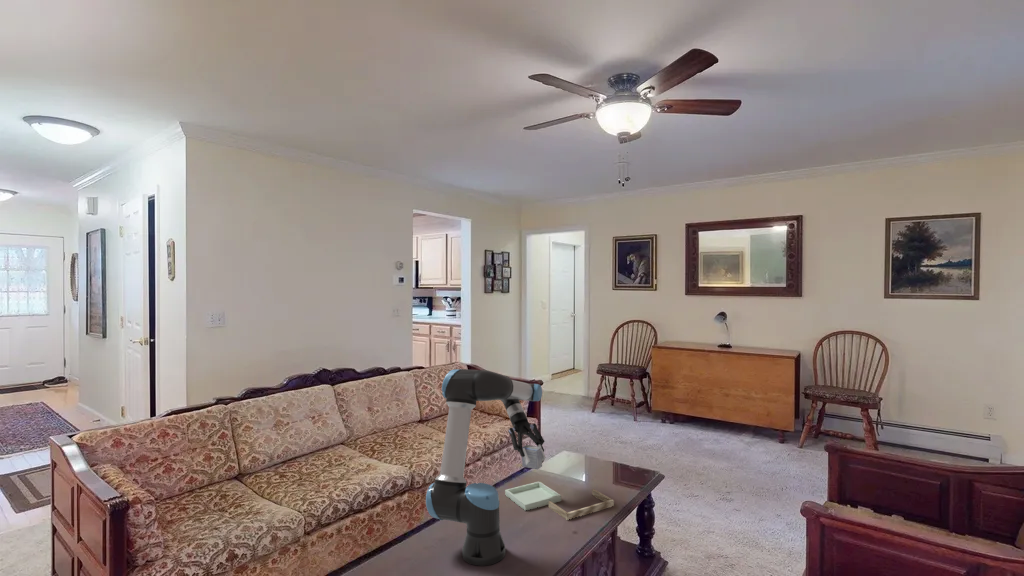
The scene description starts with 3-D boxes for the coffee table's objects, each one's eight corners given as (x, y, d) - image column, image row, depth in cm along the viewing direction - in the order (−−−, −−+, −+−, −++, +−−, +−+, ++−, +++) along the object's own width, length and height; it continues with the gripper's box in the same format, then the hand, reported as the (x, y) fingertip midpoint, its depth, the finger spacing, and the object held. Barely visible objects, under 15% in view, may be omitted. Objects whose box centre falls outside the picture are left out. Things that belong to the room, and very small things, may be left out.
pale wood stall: (567, 520, 198) (566, 514, 198) (548, 507, 210) (548, 501, 210) (614, 506, 209) (613, 500, 209) (594, 494, 221) (593, 489, 221)
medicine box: (542, 466, 219) (542, 447, 219) (537, 470, 215) (537, 450, 215) (527, 463, 223) (526, 444, 223) (522, 466, 219) (521, 447, 219)
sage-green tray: (525, 510, 207) (525, 505, 207) (505, 495, 223) (505, 489, 223) (561, 500, 216) (560, 495, 216) (539, 486, 231) (539, 481, 231)
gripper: (533, 417, 237) (552, 460, 223) (495, 423, 228) (512, 470, 213) (538, 408, 233) (558, 452, 218) (500, 414, 223) (518, 461, 209)
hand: (536, 461), depth 216 cm, fingers closed on medicine box, 7 cm apart
